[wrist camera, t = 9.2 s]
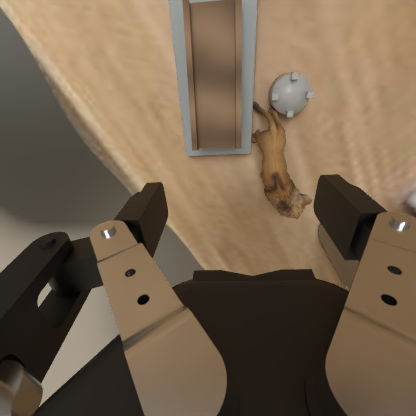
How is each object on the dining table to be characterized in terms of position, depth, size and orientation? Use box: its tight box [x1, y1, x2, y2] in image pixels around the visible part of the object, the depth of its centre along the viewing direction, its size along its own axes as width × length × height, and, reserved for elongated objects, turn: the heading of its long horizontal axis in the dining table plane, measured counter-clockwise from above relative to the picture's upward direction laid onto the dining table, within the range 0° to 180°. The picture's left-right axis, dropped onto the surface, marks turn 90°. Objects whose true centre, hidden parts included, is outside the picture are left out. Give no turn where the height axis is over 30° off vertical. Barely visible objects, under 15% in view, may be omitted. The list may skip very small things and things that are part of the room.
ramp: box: [182, 0, 242, 151], centre depth 24 cm, size 14×6×5 cm, turn 3°
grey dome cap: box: [269, 72, 314, 117], centre depth 27 cm, size 5×5×3 cm
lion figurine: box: [251, 102, 312, 219], centre depth 29 cm, size 15×5×9 cm, turn 26°
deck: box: [168, 0, 257, 156], centre depth 26 cm, size 21×9×2 cm, turn 3°
